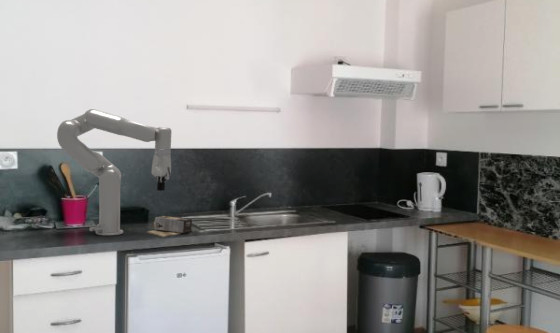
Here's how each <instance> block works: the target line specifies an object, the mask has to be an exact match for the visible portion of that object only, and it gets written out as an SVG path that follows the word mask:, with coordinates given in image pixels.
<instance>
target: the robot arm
mask: <svg viewBox="0 0 560 333" xmlns="http://www.w3.org/2000/svg"><path fill="white" fill-rule="evenodd" d="M94 129H96V130H100V131H104V132H106V133H110V134H113V135H118V136H123V137H127V138H130V139H133V140H138V141H142V142H146V143H150V142H154V155H153V158H152V163H151V175H152V176H153V177H154V178H156V182H157V186H156V187H157V188H156V189H157V190H156V191H160V192H161V191H162V192H163V191H165V188H166V187H165V186H166V182H167V180H169V179H170V177H171V175H172V174H171V173H172V159H171V152H172V151H171V148H172V146H171V145H172V128H170V127H162V126H161V127H160V126H159V127H154V126H149V125H145V124H142V123H138V122H135V121H132V120H129V119H126V118H125V117H121V116H119V115H114V114H111V113H108V112H105V111H101V110H98V109H88V110H86V111H85V112H84V113H83V114H80V115H79V116H77V117H74V118H72V119H67V120H64V121H62V122H61V123H60V124H59V126H58V128H57V132H56V137H57V143H58V145H59V146H60V148H61V149H62V150H63V151H64V153H65V154H67V155H68V156H69V157H70V158H71V159H72V160H73V161H75V162H76V163H77V164H78V165H79V166H81V167H82V168H83V170H85V171H86V172H87V173H92V174H93V175H94V176H95V177H97V178H98V187H99V188H98V189H99V191H98V192H99V193H98V194H99V195H98V196H99V197H98V198H99V199H98V204H99V205H98V206H99V207H98V210H99V212H98V213H99V215H98V216H99V217H98V223H97V224H96V226H90V227H89V230H88V231H90V232H95V234H96V235H97V236H98V235H99V236H105V237H106V236H109V237H110V236H118V235H121V234H122V235H123V233H124V230H123V229H121V179H122V173H121V171H120V169H119V168H118V167H116V165H114V164H113V163H112V162H111V161H109V160H108V159H107V158H106V157H105V156H104V155H102V154H101V153H100V152H97V151H93V150H92V149H90V148H89V147H88V146H87V145H86V144H85V143H84V142H82V141H81V140H80V139H79V138H78V137H79V136H82V135H84V134H86V133H88V132H90V131H92V130H94Z"/></svg>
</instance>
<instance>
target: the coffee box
mask: <svg viewBox="0 0 560 333" xmlns="http://www.w3.org/2000/svg"><path fill="white" fill-rule="evenodd" d="M192 225H193V219H192V218H184V217H178V216H177V217H176V216H175V217H174V216H167V215H160V216H156V217H154V230H164V231H171V232H179V233H181V234H186V233H189V232H191V233H192Z"/></svg>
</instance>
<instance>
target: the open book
mask: <svg viewBox="0 0 560 333" xmlns="http://www.w3.org/2000/svg"><path fill="white" fill-rule="evenodd" d="M146 233H147V234H151V235H154V236H158V237H163V238H164V237H165V238H166V237H171V236H176V235H182V233H179V232H171V231H164V230H156V229H154V230H148V231H146Z"/></svg>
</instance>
